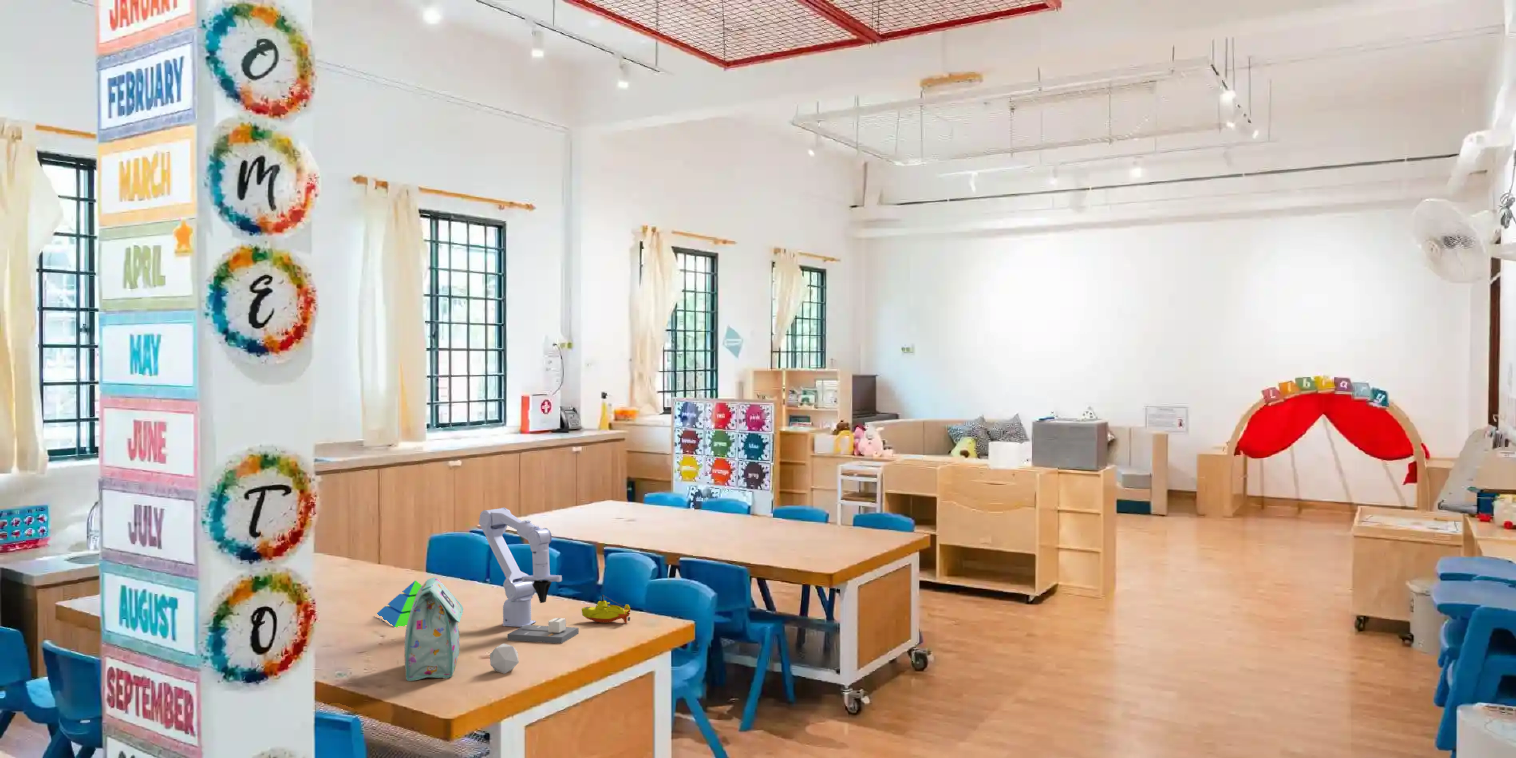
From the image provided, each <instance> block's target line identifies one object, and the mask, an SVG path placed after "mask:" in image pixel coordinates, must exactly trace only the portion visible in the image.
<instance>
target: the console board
mask: <svg viewBox="0 0 1516 758" xmlns="http://www.w3.org/2000/svg"><path fill="white" fill-rule="evenodd" d="M579 630H580V629H579V627H575V626H574V627H572V626H571V627H570V626H566V629H565V630H563V631H561V632H560V633H556V632H548V625H536V624H531V625H525V626H523V627H518V628H517V629H515V630H513V631H511V632H509V633H507V634H506V635H507V636H506V637H507V641H516V642H517V641H518V642H519V641H520V642H535V643H538V642H539V643H546V644H547V643H551V644H563V643H565V642H567V641H568V640H570V639H571V638H573V637H576V636H577V635H578V634H579Z"/></svg>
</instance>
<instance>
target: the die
mask: <svg viewBox="0 0 1516 758" xmlns="http://www.w3.org/2000/svg"><path fill="white" fill-rule="evenodd" d="M489 659H490V660H489V662H490V667H492V668H493V670H494V671H496V672H498V673H500V674H504V675H505V674H507V673H509V672H510V671H513V669H514V668H515V667H516V666H517V665H518V664H519V661H520V660H519V653H518V651H517V649H516V648H515V647H514V645H510V644H507V643H504V642H503V643H502V644H500V645H497V647H494V649H493V650H492V651H491V653H490V654H489Z"/></svg>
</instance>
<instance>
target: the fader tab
mask: <svg viewBox="0 0 1516 758" xmlns="http://www.w3.org/2000/svg"><path fill="white" fill-rule="evenodd" d="M547 624H548V625H547V626H548V632H556V633H560V632H561V631H563V630H565V629H566V627H567V625H566V624H567V619H566V618H564V617H563V618H562V617H554V618H552V619H550V620H548V622H547Z"/></svg>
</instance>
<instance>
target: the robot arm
mask: <svg viewBox="0 0 1516 758" xmlns="http://www.w3.org/2000/svg"><path fill="white" fill-rule="evenodd" d="M478 524H479V526H480V528H481V530H482V532H483V534H484V535H485V538H486V540H487V543H488V545H489V547H490V548H491V551H492V552H493V555H494V557H495V559H496V561H497V563H498V564H499V566H500V569H501V571H502V572H503V574H504V577H505V579H504V581H503V584H502V587H503V589H504V593H505V596H506V598H507V599H506V600H505V601H503V602H504V603H503V605H502V625H501V626H503V627H517V628H521V627H523V626H525V625H534V623H536V622H537V621H536V620H533V619H532V599H533V598H534V597H533V596H535V594H536V595H537V597H538V601H539V603H540V604H543V603H547V597H548V593H549V590H550V588H551V585H552V582H557V583H560V582H562V581H563V577H562V576H563V575H561V574H560V575H559V574H557V575H556V574H551V572H550V571H551V570H550V569H551V568H550V550H549V547H550V546H549V544H550V543H552V538H553V537H552V533H551V531H550V530H549V529H548V528H547V527H544V528H541V527H539V525H535V524H533V523H532V522H531V520H529V519H527V520H521V519H519V518H518V517H517V516H516V515H513V514H512V512H511V510H510V509H508V508H506V507H500V508H493V509H486V510H485V509H483V510H482V511H481V512H480V514H479V520H478ZM508 526H509V527H510V528H511V529H514V530H516V534H517V535H518V536H520V537H522V538H524V539H525V540H527V541H528V544H529V547H530V551H531V552H532V574H531V575H529V574H528V573H525V572H524V571H521V570H520V567H519V566H518V564H517V562H516V560H515V558H514V555H513V554H512V552H511V550H510V548H509V546H508V545H507V543H506V540H505V538H504V537H503V534H505V532H506V531H507V527H508Z"/></svg>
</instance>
